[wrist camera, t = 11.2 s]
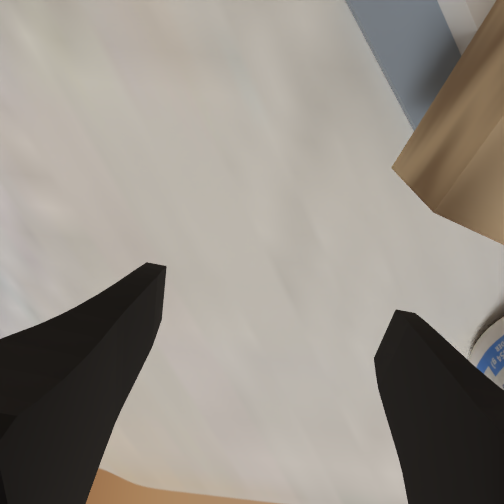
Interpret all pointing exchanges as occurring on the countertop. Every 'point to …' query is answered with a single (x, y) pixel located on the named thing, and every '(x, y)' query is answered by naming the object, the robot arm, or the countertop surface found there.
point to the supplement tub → (490, 353)
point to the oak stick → (465, 138)
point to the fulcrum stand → (418, 43)
